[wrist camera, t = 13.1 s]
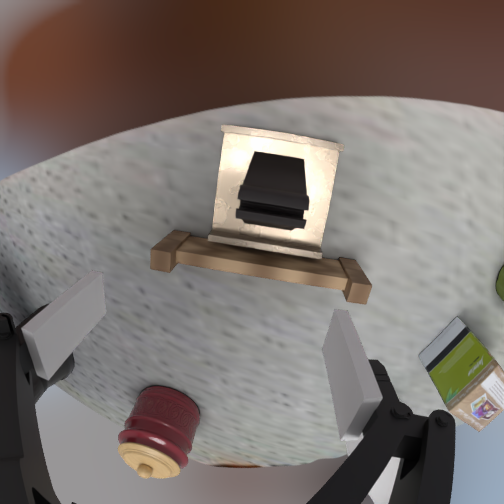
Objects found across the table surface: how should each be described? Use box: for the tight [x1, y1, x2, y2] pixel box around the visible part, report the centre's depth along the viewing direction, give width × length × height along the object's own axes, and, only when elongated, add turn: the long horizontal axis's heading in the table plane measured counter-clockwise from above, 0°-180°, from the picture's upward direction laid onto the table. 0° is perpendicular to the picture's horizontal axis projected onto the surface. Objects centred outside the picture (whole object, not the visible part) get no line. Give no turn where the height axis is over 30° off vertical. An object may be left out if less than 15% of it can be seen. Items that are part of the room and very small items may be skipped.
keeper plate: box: [208, 125, 344, 259], centre depth 35 cm, size 14×14×3 cm
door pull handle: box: [150, 230, 372, 304], centre depth 36 cm, size 25×2×8 cm, turn 82°
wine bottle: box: [346, 433, 400, 504], centre depth 34 cm, size 10×10×30 cm
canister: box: [118, 386, 200, 478], centre depth 43 cm, size 13×13×18 cm
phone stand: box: [235, 151, 310, 231], centre depth 30 cm, size 9×6×12 cm, turn 172°
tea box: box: [419, 317, 504, 432], centre depth 36 cm, size 15×10×15 cm, turn 53°
